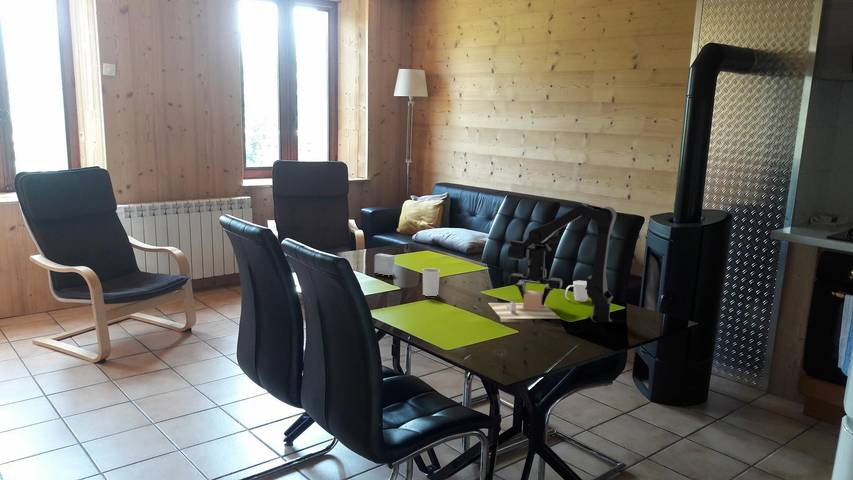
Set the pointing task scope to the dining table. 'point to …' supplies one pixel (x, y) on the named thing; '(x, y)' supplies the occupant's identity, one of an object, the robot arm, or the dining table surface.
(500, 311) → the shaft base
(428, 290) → the drinking glass
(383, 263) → the medicine box
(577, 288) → the cup
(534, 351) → the dining table surface
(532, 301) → the pink block
